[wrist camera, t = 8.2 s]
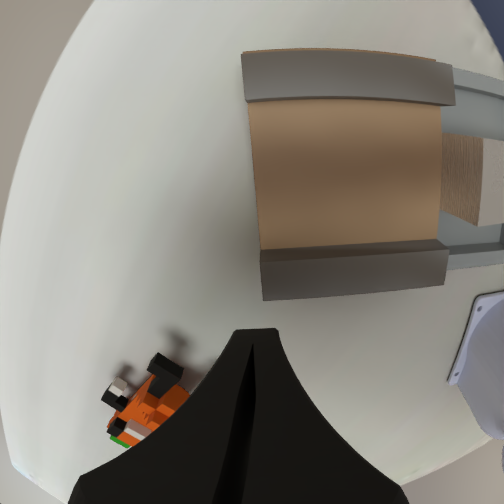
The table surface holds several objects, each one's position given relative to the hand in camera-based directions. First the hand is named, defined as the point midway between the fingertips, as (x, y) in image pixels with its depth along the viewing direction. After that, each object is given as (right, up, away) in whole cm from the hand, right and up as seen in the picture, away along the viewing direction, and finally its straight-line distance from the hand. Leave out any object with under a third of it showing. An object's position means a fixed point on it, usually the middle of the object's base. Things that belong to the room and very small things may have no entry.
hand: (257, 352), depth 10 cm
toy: (-8, -9, +15) cm, 19 cm away
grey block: (+11, +8, +4) cm, 14 cm away
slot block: (+5, +8, +7) cm, 11 cm away
